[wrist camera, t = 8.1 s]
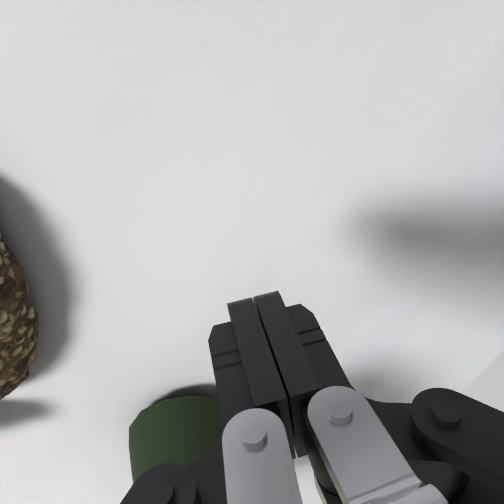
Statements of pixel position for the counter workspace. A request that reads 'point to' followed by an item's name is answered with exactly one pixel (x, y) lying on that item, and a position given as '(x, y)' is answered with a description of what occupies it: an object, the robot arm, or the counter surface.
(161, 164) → the counter surface
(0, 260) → the bread roll
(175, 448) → the character mug
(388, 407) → the robot arm
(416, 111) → the counter surface
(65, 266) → the counter surface
